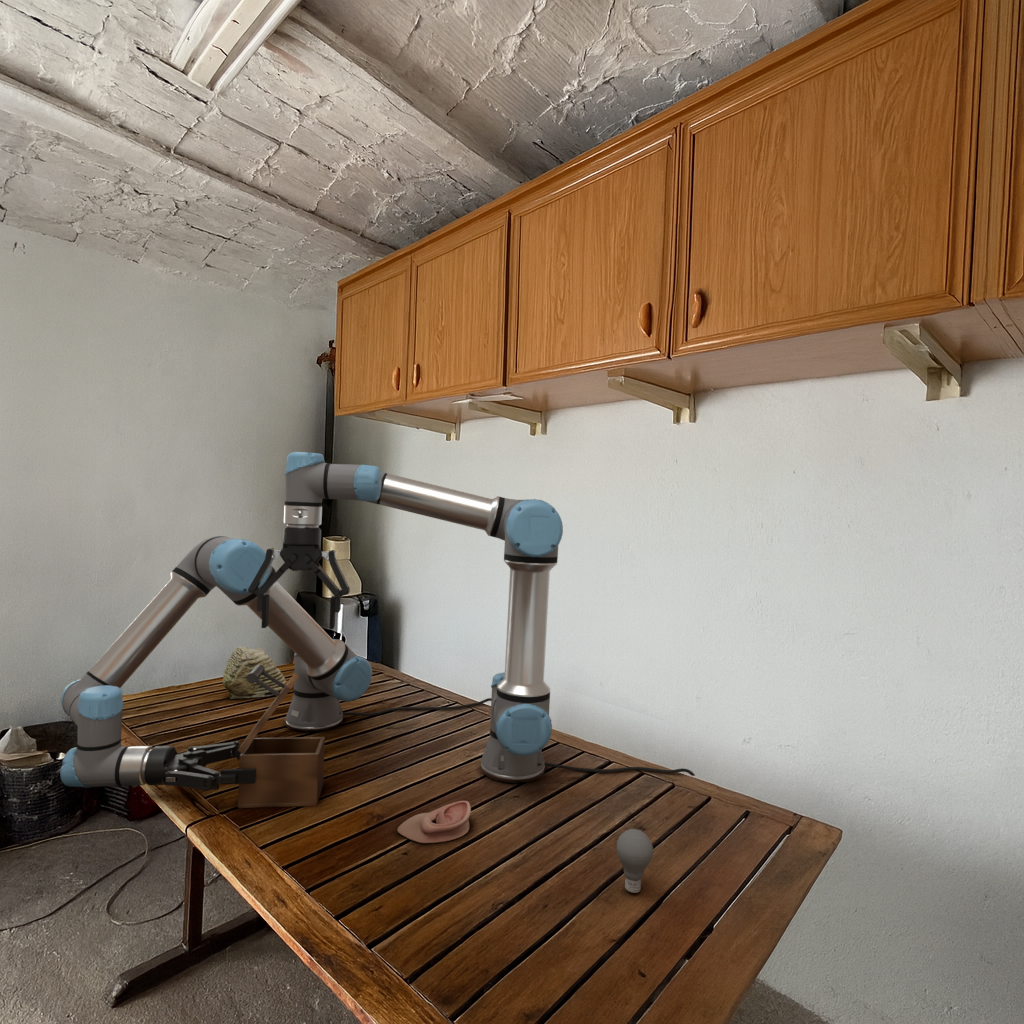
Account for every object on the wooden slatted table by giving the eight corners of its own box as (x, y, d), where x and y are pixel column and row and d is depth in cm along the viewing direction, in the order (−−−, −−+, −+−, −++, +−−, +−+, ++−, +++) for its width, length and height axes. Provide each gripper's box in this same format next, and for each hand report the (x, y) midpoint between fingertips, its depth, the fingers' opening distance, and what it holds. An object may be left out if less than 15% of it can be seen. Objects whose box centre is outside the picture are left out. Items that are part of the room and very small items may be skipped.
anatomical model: (391, 817, 118) (413, 790, 130) (390, 838, 118) (412, 809, 130) (459, 827, 116) (476, 799, 127) (459, 849, 116) (475, 819, 127)
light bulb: (610, 879, 108) (613, 822, 108) (644, 879, 109) (647, 822, 109) (619, 902, 102) (622, 840, 102) (655, 901, 103) (658, 840, 103)
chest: (323, 785, 139) (325, 736, 139) (316, 805, 130) (318, 754, 130) (250, 786, 137) (251, 737, 137) (237, 808, 128) (239, 755, 127)
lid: (299, 675, 138) (266, 653, 137) (290, 688, 128) (255, 665, 127) (254, 736, 137) (220, 714, 136) (242, 753, 127) (205, 730, 126)
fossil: (218, 695, 195) (220, 647, 195) (278, 685, 208) (279, 640, 207) (228, 703, 189) (230, 653, 188) (289, 692, 201) (290, 645, 201)
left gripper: (171, 760, 141) (274, 758, 144) (123, 812, 118) (246, 808, 121) (172, 726, 141) (275, 725, 144) (124, 772, 118) (248, 769, 121)
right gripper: (234, 524, 127) (231, 630, 127) (362, 529, 131) (357, 631, 131) (244, 523, 134) (241, 622, 135) (364, 527, 138) (361, 624, 139)
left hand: (262, 763), depth 133 cm, fingers open, 11 cm apart
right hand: (298, 627), depth 133 cm, fingers open, 13 cm apart
